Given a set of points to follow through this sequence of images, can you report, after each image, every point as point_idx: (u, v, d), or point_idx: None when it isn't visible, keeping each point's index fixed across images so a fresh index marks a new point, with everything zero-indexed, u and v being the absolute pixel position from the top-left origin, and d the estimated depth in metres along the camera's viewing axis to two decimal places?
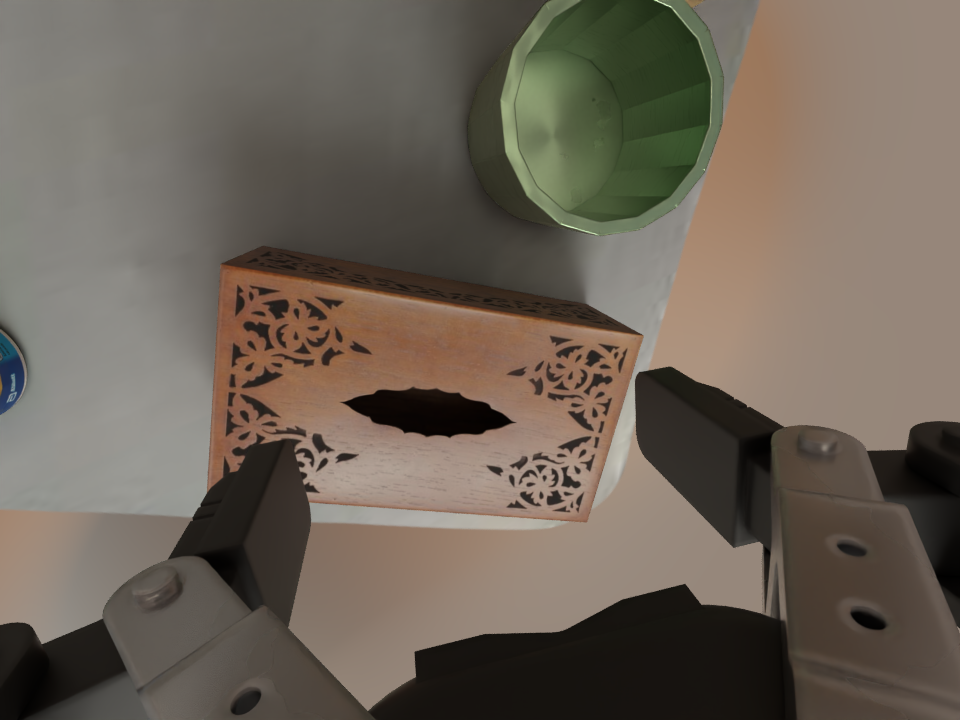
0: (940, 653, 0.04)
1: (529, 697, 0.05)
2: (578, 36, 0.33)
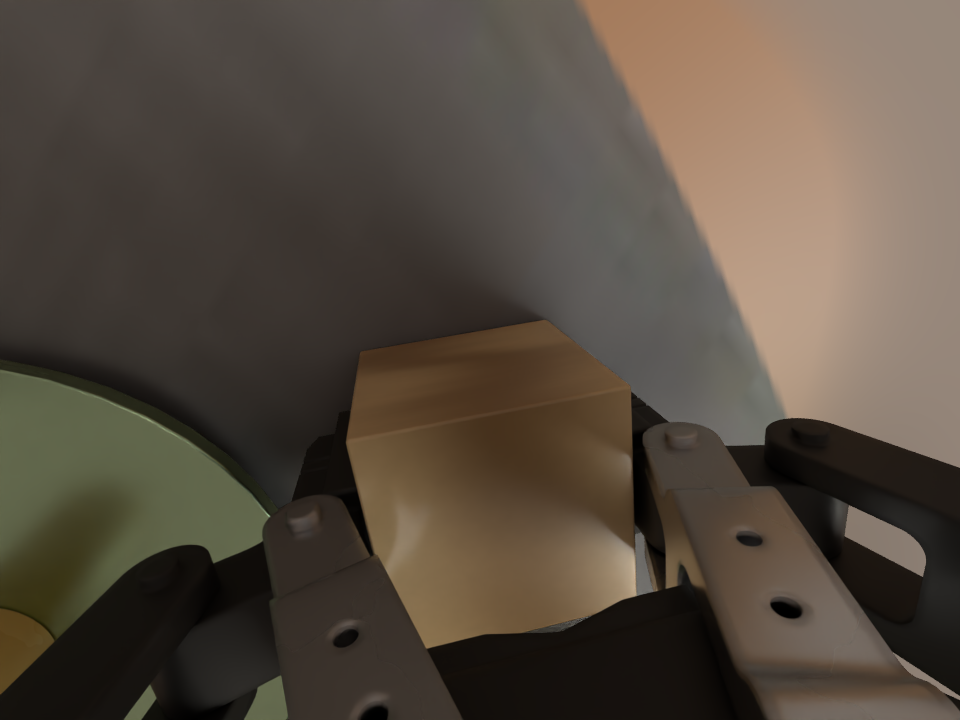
0: (850, 626, 0.04)
1: (529, 697, 0.05)
2: None
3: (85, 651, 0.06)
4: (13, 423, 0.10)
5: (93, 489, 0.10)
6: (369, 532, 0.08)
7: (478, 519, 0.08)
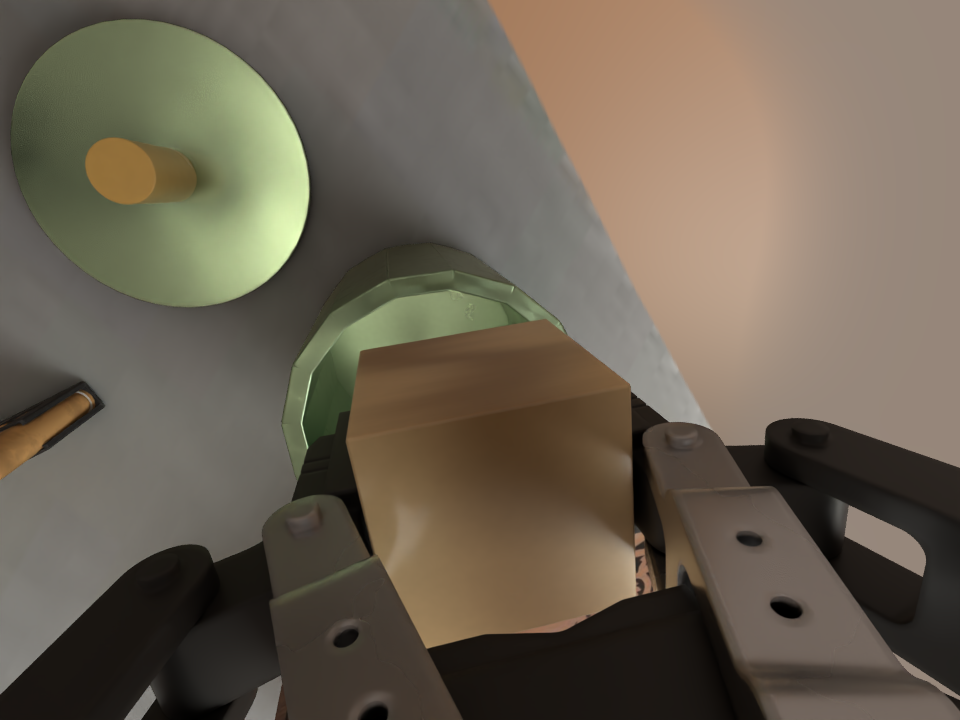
0: (850, 627, 0.04)
1: (529, 697, 0.05)
2: None
3: (85, 651, 0.06)
4: (190, 54, 0.24)
5: (218, 93, 0.25)
6: (369, 531, 0.08)
7: (478, 517, 0.08)
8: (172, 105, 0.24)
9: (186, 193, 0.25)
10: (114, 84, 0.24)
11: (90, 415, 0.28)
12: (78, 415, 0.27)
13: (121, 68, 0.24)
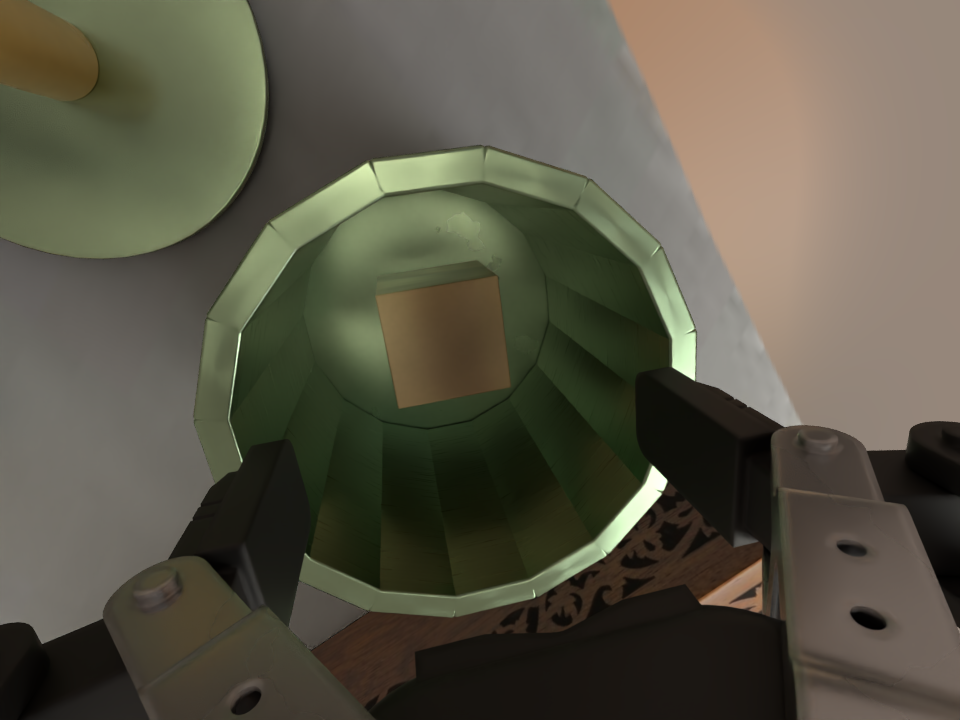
0: (940, 653, 0.04)
1: (529, 697, 0.05)
2: None
3: None
4: None
5: None
6: (384, 339, 0.18)
7: (432, 335, 0.19)
8: None
9: (80, 83, 0.17)
10: None
11: None
12: None
13: None
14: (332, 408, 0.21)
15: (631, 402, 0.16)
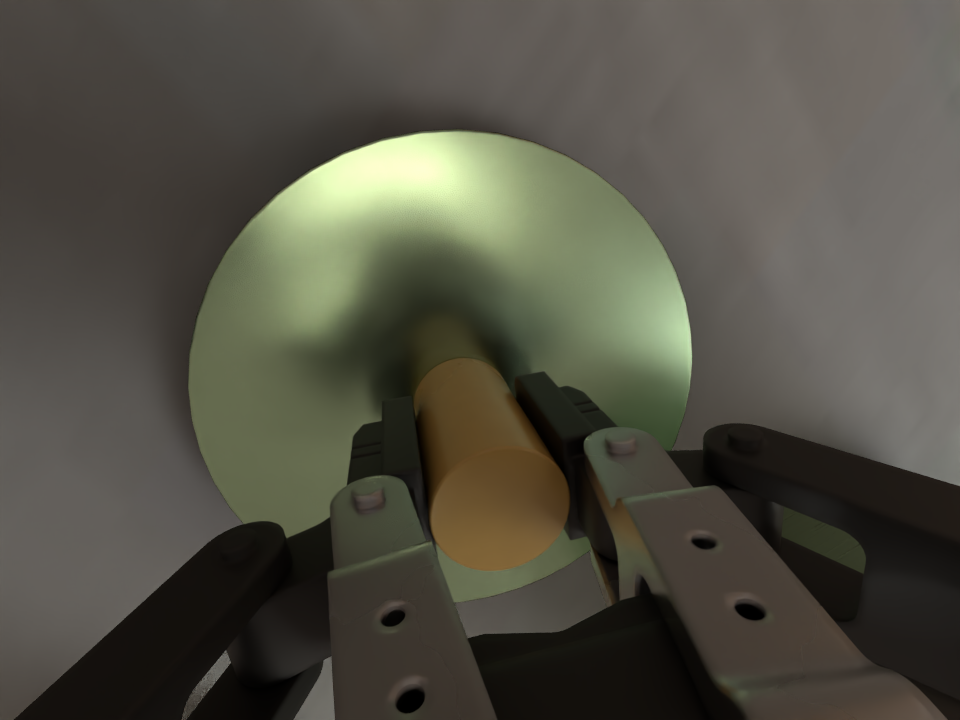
0: (810, 620, 0.04)
1: (529, 697, 0.05)
2: None
3: (169, 613, 0.06)
4: (533, 191, 0.12)
5: (570, 257, 0.13)
6: None
7: None
8: (487, 284, 0.13)
9: None
10: (390, 254, 0.12)
11: None
12: None
13: (406, 224, 0.12)
14: None
15: None
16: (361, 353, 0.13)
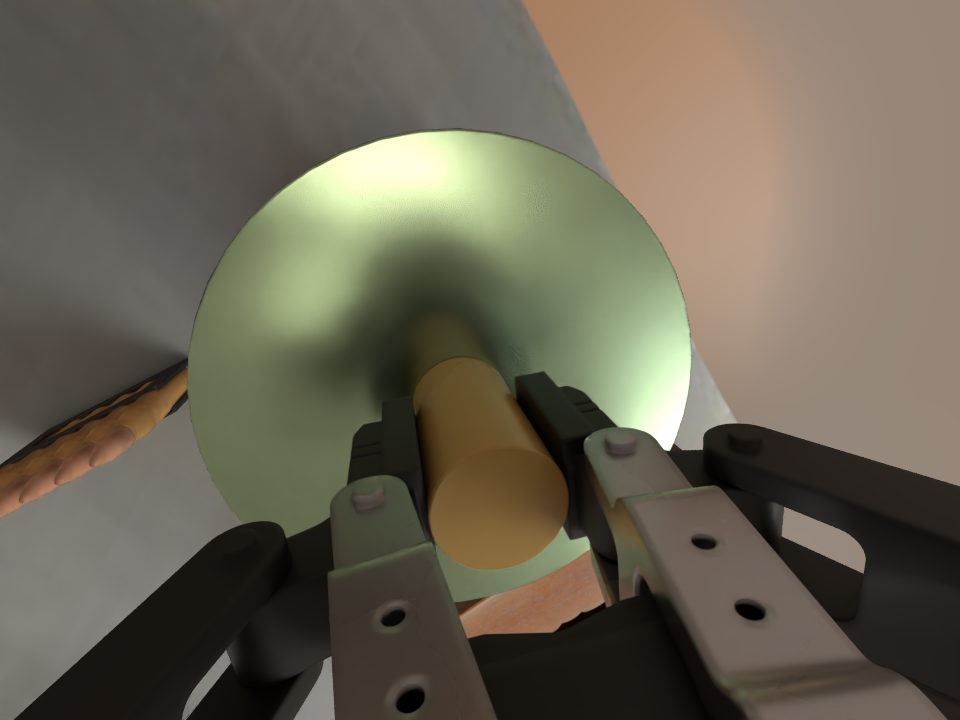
0: (810, 621, 0.04)
1: (529, 697, 0.05)
2: None
3: (169, 614, 0.06)
4: (532, 191, 0.12)
5: (569, 256, 0.13)
6: None
7: None
8: (486, 283, 0.13)
9: None
10: (389, 253, 0.12)
11: None
12: None
13: (405, 223, 0.12)
14: None
15: None
16: (360, 352, 0.13)
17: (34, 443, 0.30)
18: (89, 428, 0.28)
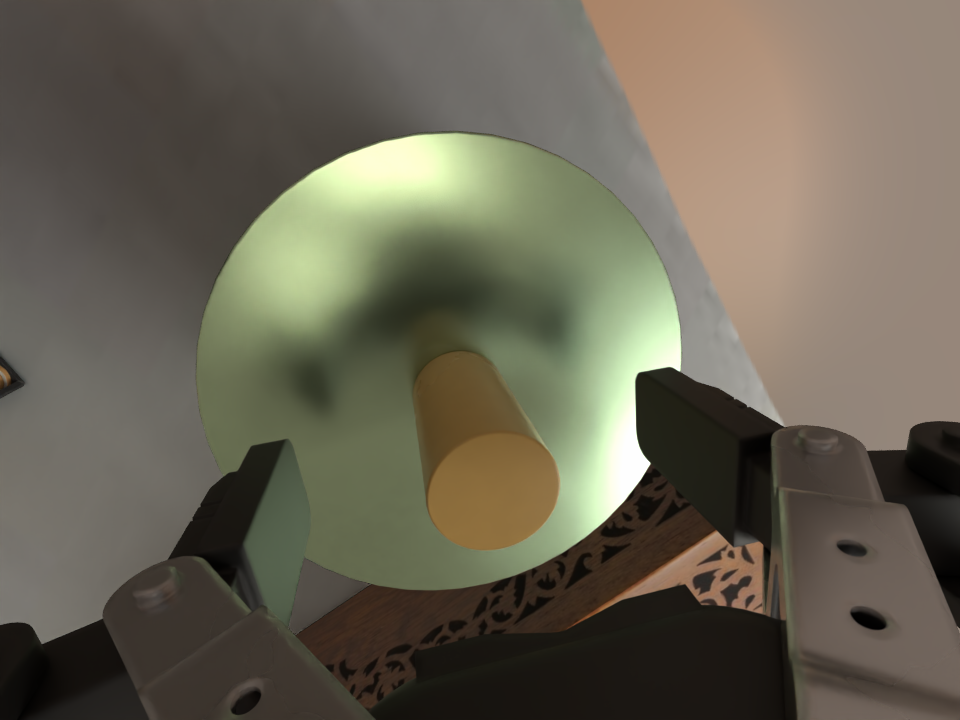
0: (939, 653, 0.04)
1: (529, 697, 0.05)
2: None
3: None
4: (527, 191, 0.13)
5: (563, 253, 0.13)
6: None
7: None
8: (483, 280, 0.13)
9: None
10: (389, 250, 0.13)
11: (1, 394, 0.22)
12: None
13: (405, 222, 0.12)
14: None
15: None
16: (362, 346, 0.13)
17: None
18: None
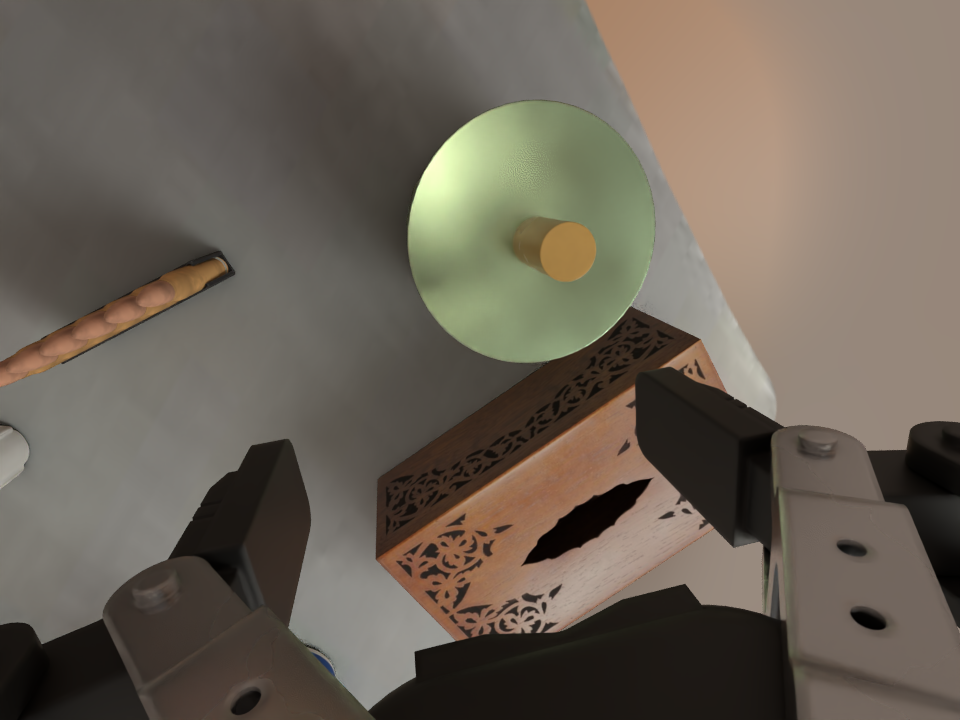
0: (939, 653, 0.04)
1: (529, 697, 0.05)
2: None
3: None
4: (575, 130, 0.25)
5: (592, 164, 0.26)
6: None
7: None
8: (551, 177, 0.26)
9: None
10: (506, 160, 0.25)
11: (228, 275, 0.34)
12: (220, 273, 0.34)
13: (515, 145, 0.25)
14: None
15: None
16: (489, 211, 0.26)
17: None
18: None
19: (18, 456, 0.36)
